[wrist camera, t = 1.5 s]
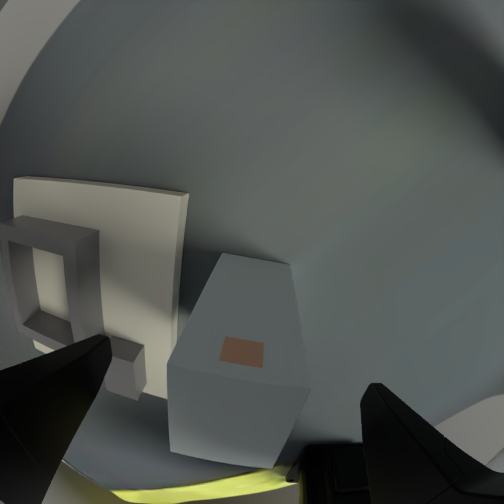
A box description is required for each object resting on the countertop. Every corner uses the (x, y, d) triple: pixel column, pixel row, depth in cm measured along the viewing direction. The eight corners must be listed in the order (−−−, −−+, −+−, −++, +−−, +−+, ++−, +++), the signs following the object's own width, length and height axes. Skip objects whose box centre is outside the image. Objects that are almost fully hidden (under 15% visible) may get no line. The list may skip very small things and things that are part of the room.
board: (175, 387, 16) (161, 423, 13) (44, 340, 16) (20, 362, 13) (189, 193, 12) (164, 203, 9) (27, 175, 13) (-11, 182, 9)
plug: (272, 335, 14) (271, 468, 7) (212, 324, 14) (170, 451, 7) (290, 264, 13) (311, 387, 6) (222, 252, 13) (166, 362, 6)
